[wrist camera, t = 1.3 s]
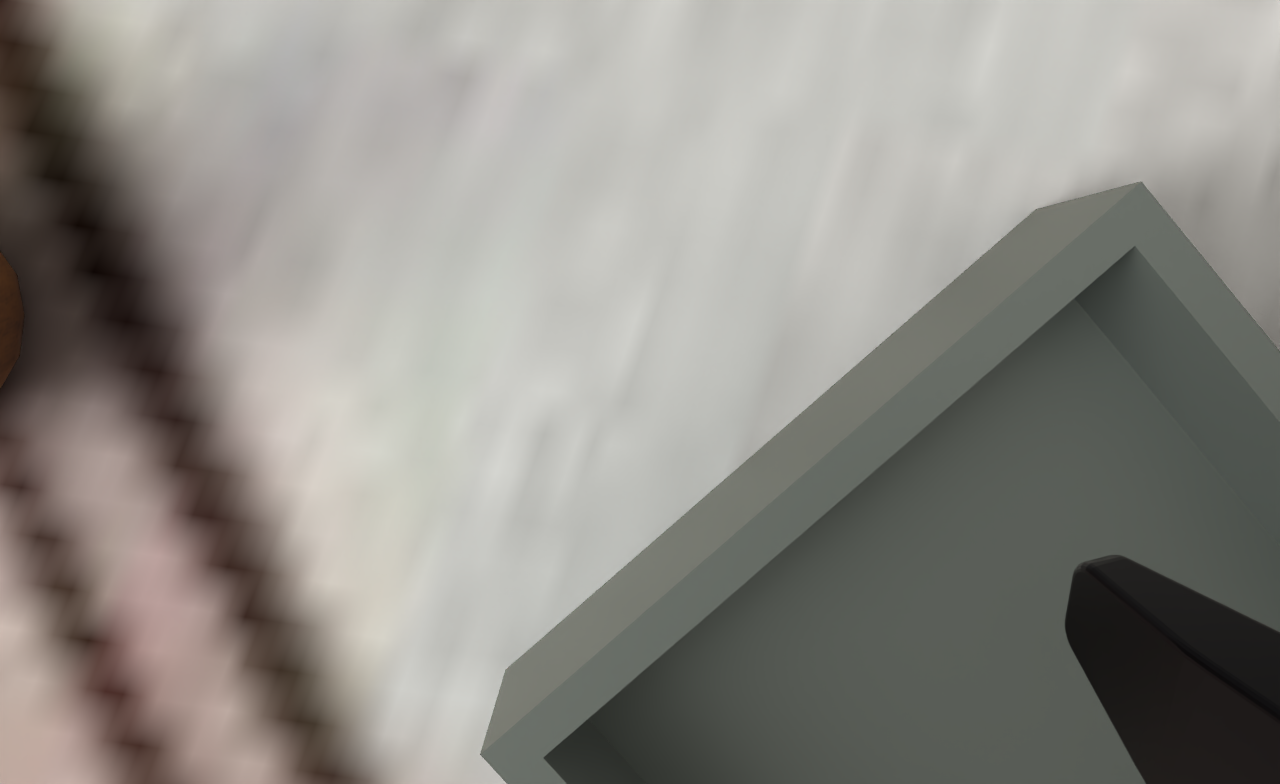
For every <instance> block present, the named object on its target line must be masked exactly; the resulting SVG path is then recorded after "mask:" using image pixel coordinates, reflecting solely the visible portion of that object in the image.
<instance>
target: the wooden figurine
mask: <svg viewBox="0 0 1280 784" xmlns="http://www.w3.org/2000/svg"><path fill="white" fill-rule="evenodd" d="M23 323H24V310H23V305H22V299H21V294H20V289H19V283H18V278H17V274H16V273H15V271H14V270H13V269H12V267H11V266H10V264H9V263H8V262H7V260H6V259H5V257H4V256H3V255H2V253H1V252H0V388H1V387H2V385H3V383H4V382H5V380H6V378H7V376H8V375H9V373H10V371H11V369H12V368H13V366H14V364H15V363H16V361H17V359H18V357H19V356H20V350H21V341H22V332H23Z"/></svg>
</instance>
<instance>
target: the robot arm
mask: <svg viewBox="0 0 1280 784" xmlns="http://www.w3.org/2000/svg"><path fill="white" fill-rule="evenodd" d="M1065 632H1066V636H1067V640H1068V642H1069V645H1070V647H1071V649H1072V651H1073V653H1074V654H1075V656H1076V658H1077V660H1078V662H1079V664H1080V665H1081V667H1082V669H1083V671H1084V673H1085V675H1086V676H1087V678H1088V680H1089V682H1090V684H1091V686H1092V687H1093V689H1094V691H1095V693H1096V695H1097V697H1098V698H1099V700H1100V702H1101V704H1102V706H1103V708H1104V709H1105V711H1106V713H1107V715H1108V717H1109V719H1110V720H1111V722H1112V724H1113V726H1114V728H1115V730H1116V731H1117V733H1118V735H1119V737H1120V739H1121V741H1122V742H1123V744H1124V746H1125V748H1126V750H1127V751H1128V753H1129V755H1130V757H1131V759H1132V761H1133V762H1134V764H1135V766H1136V768H1137V769H1138V771H1139V773H1140V775H1141V776H1142V778H1143V780H1144V781H1145V783H1146V784H1280V631H1277V630H1275V629H1273V628H1271V627H1269V626H1267V625H1265V624H1263V623H1261V622H1259V621H1257V620H1255V619H1253V618H1251V617H1249V616H1247V615H1245V614H1242V613H1240V612H1238V611H1236V610H1234V609H1232V608H1230V607H1228V606H1226V605H1224V604H1222V603H1220V602H1218V601H1216V600H1214V599H1212V598H1210V597H1208V596H1205V595H1203V594H1201V593H1199V592H1197V591H1195V590H1193V589H1191V588H1189V587H1187V586H1185V585H1183V584H1181V583H1179V582H1177V581H1175V580H1173V579H1171V578H1168V577H1166V576H1164V575H1162V574H1160V573H1158V572H1156V571H1154V570H1152V569H1150V568H1148V567H1146V566H1144V565H1142V564H1140V563H1138V562H1136V561H1133V560H1131V559H1129V558H1127V557H1124V556H1121V555H1108V556H1104V557H1100V558H1097V559H1093V560H1089V561H1085V562H1082V563H1080V564H1079V565H1078V566H1077V567H1076V568H1075V570H1074V572H1073V576H1072V582H1071V587H1070V593H1069V599H1068V604H1067V610H1066V616H1065Z"/></svg>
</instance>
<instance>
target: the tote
mask: <svg viewBox="0 0 1280 784" xmlns="http://www.w3.org/2000/svg"><path fill="white" fill-rule="evenodd" d="M1108 555H1121V556H1124V557H1127V558H1129V559H1131V560H1133V561H1136V562H1138V563H1140V564H1142V565H1144V566H1146V567H1148V568H1150V569H1152V570H1154V571H1156V572H1158V573H1160V574H1162V575H1164V576H1166V577H1168V578H1171V579H1173V580H1175V581H1177V582H1179V583H1181V584H1183V585H1185V586H1187V587H1189V588H1191V589H1193V590H1195V591H1197V592H1199V593H1201V594H1203V595H1205V596H1208V597H1210V598H1212V599H1214V600H1216V601H1218V602H1220V603H1222V604H1224V605H1226V606H1228V607H1230V608H1232V609H1234V610H1236V611H1238V612H1240V613H1242V614H1245V615H1247V616H1249V617H1251V618H1253V619H1255V620H1257V621H1259V622H1261V623H1263V624H1265V625H1267V626H1269V627H1271V628H1273V629H1275V630H1277V631H1280V351H1279V350H1278V349H1277V347H1276V346H1275V345H1274V344H1273V343H1272V341H1271V340H1270V339H1269V338H1268V336H1267V335H1266V334H1265V333H1264V332H1263V330H1262V329H1261V328H1260V327H1259V325H1258V324H1257V323H1256V322H1255V320H1254V319H1253V318H1252V317H1251V316H1250V314H1249V313H1248V312H1247V311H1246V309H1245V308H1244V307H1243V306H1242V305H1241V303H1240V302H1239V301H1238V300H1237V298H1236V297H1235V296H1234V295H1233V293H1232V292H1231V291H1230V290H1229V289H1228V287H1227V286H1226V285H1225V284H1224V282H1223V281H1222V280H1221V279H1220V278H1219V276H1218V275H1217V274H1216V273H1215V271H1214V270H1213V269H1212V268H1211V266H1210V265H1209V264H1208V263H1207V262H1206V260H1205V259H1204V258H1203V257H1202V255H1201V254H1200V253H1199V252H1198V251H1197V249H1196V248H1195V247H1194V246H1193V244H1192V243H1191V242H1190V241H1189V239H1188V238H1187V237H1186V236H1185V235H1184V233H1183V232H1182V231H1181V230H1180V228H1179V227H1178V226H1177V225H1176V224H1175V222H1174V221H1173V220H1172V219H1171V217H1170V216H1169V215H1168V214H1167V212H1166V211H1165V210H1164V209H1163V208H1162V206H1161V205H1160V204H1159V203H1158V201H1157V200H1156V199H1155V198H1154V197H1153V195H1152V194H1151V193H1150V192H1149V190H1148V189H1147V188H1146V187H1145V185H1144V184H1143V183H1142V182H1137V183H1134V184H1130V185H1126V186H1122V187H1119V188H1115V189H1111V190H1107V191H1104V192H1100V193H1096V194H1092V195H1089V196H1085V197H1081V198H1077V199H1074V200H1070V201H1066V202H1062V203H1059V204H1055V205H1051V206H1048V207H1044V208H1040V209H1036V210H1035V211H1034V212H1032V213H1031V214H1030V215H1029V216H1028V217H1027V218H1025V219H1024V220H1023V221H1022V222H1021V223H1020V224H1019V225H1017V226H1016V227H1015V228H1014V229H1013V230H1012V231H1011V232H1009V233H1008V234H1007V235H1006V236H1005V237H1004V238H1002V239H1001V240H1000V241H999V242H998V243H997V244H996V245H994V246H993V247H992V248H991V249H990V250H989V251H988V252H986V253H985V254H984V255H983V256H982V257H981V258H979V259H978V260H977V261H976V262H975V263H974V264H973V265H971V266H970V267H969V268H968V269H967V270H966V271H964V272H963V273H962V274H961V275H960V276H959V277H958V278H956V279H955V280H954V281H953V282H952V283H951V284H950V285H948V286H947V287H946V288H945V289H944V290H943V291H941V292H940V293H939V294H938V295H937V296H936V297H935V298H933V299H932V300H931V301H930V302H929V303H928V304H926V305H925V306H924V307H923V308H922V309H921V310H920V311H918V312H917V313H916V314H915V315H914V316H913V317H912V318H910V319H909V320H908V321H907V322H906V323H905V324H903V325H902V326H901V327H900V328H899V329H898V330H897V331H895V332H894V333H893V334H892V335H891V336H890V337H889V338H887V339H886V340H885V341H884V342H883V343H882V344H880V345H879V346H878V347H877V348H876V349H875V350H874V351H872V352H871V353H870V354H869V355H868V356H867V357H865V358H864V359H863V360H862V361H861V362H860V363H859V364H857V365H856V366H855V367H854V368H853V369H852V370H851V371H849V372H848V373H847V374H846V375H845V376H844V377H842V378H841V379H840V380H839V381H838V382H837V383H836V384H834V385H833V386H832V387H831V388H830V389H829V390H827V391H826V392H825V393H824V394H823V395H822V396H821V397H819V398H818V399H817V400H816V401H815V402H814V403H813V404H811V405H810V406H809V407H808V408H807V409H806V410H804V411H803V412H802V413H801V414H800V415H799V416H798V417H796V418H795V419H794V420H793V421H792V422H791V423H790V424H788V425H787V426H786V427H785V428H784V429H783V430H781V431H780V432H779V433H778V434H777V435H776V436H775V437H773V438H772V439H771V440H770V441H769V442H768V443H766V444H765V445H764V446H763V447H762V448H761V449H760V450H758V451H757V452H756V453H755V454H754V455H753V456H752V457H750V458H749V459H748V460H747V461H746V462H745V463H743V464H742V465H741V466H740V467H739V468H738V469H737V470H735V471H734V472H733V473H732V474H731V475H730V476H728V477H727V478H726V479H725V480H724V481H723V482H722V483H720V484H719V485H718V486H717V487H716V488H715V489H714V490H712V491H711V492H710V493H709V494H708V495H707V496H705V497H704V498H703V499H702V500H701V501H700V502H699V503H697V504H696V505H695V506H694V507H693V508H692V509H690V510H689V511H688V512H687V513H686V514H685V515H684V516H682V517H681V518H680V519H679V520H678V521H677V522H676V523H674V524H673V525H672V526H671V527H670V528H669V529H667V530H666V531H665V532H664V533H663V534H662V535H661V536H659V537H658V538H657V539H656V540H655V541H654V542H653V543H651V544H650V545H649V546H648V547H647V548H646V549H644V550H643V551H642V552H641V553H640V554H639V555H638V556H636V557H635V558H634V559H633V560H632V561H631V562H629V563H628V564H627V565H626V566H625V567H624V568H623V569H621V570H620V571H619V572H618V573H617V574H616V575H615V576H613V577H612V578H611V579H610V580H609V581H608V582H606V583H605V584H604V585H603V586H602V587H601V588H600V589H598V590H597V591H596V592H595V593H594V594H593V595H591V596H590V597H589V598H588V599H587V600H586V601H585V602H583V603H582V604H581V605H580V606H579V607H578V608H577V609H575V610H574V611H573V612H572V613H571V614H570V615H568V616H567V617H566V618H565V619H564V620H563V621H562V622H560V623H559V624H558V625H557V626H556V627H555V628H554V629H552V630H551V631H550V632H549V633H548V634H547V635H545V636H544V637H543V638H542V639H541V640H540V641H539V642H537V643H536V644H535V645H534V646H533V647H532V648H530V649H529V650H528V651H527V652H526V653H525V654H524V655H522V656H521V657H520V658H519V659H518V660H517V661H516V662H514V663H513V664H512V665H511V666H510V667H509V668H507V669H506V670H505V674H504V677H503V680H502V684H501V687H500V690H499V694H498V697H497V700H496V704H495V707H494V710H493V714H492V717H491V720H490V724H489V727H488V730H487V734H486V737H485V740H484V744H483V747H482V750H481V754H480V755H481V756H482V757H483V758H484V759H485V760H486V761H487V762H488V763H489V765H490V766H491V767H492V768H493V769H494V770H495V771H496V772H497V773H498V774H499V775H500V776H501V778H502V779H503V780H504V781H505V782H506V783H507V784H1146V783H1145V781H1144V780H1143V778H1142V776H1141V775H1140V773H1139V771H1138V769H1137V768H1136V766H1135V764H1134V762H1133V761H1132V759H1131V757H1130V755H1129V753H1128V751H1127V750H1126V748H1125V746H1124V744H1123V742H1122V741H1121V739H1120V737H1119V735H1118V733H1117V731H1116V730H1115V728H1114V726H1113V724H1112V722H1111V720H1110V719H1109V717H1108V715H1107V713H1106V711H1105V709H1104V708H1103V706H1102V704H1101V702H1100V700H1099V698H1098V697H1097V695H1096V693H1095V691H1094V689H1093V687H1092V686H1091V684H1090V682H1089V680H1088V678H1087V676H1086V675H1085V673H1084V671H1083V669H1082V667H1081V665H1080V664H1079V662H1078V660H1077V658H1076V656H1075V654H1074V653H1073V651H1072V649H1071V647H1070V645H1069V642H1068V640H1067V636H1066V632H1065V616H1066V610H1067V604H1068V599H1069V593H1070V587H1071V582H1072V576H1073V572H1074V570H1075V568H1076V567H1077V566H1078V565H1079V564H1080V563H1082V562H1085V561H1089V560H1093V559H1097V558H1100V557H1104V556H1108Z"/></svg>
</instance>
